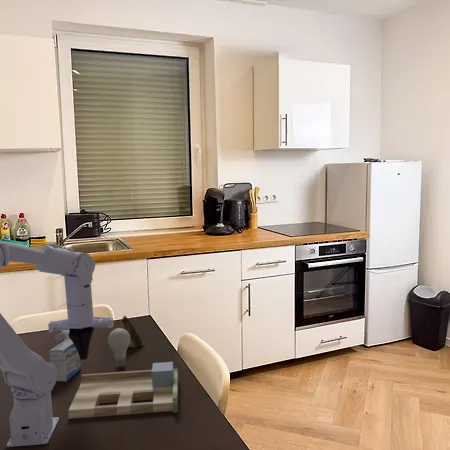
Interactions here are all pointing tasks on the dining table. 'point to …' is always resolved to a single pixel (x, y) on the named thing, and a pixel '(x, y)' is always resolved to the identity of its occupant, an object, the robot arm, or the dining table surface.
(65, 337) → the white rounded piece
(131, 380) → the tray
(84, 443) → the dining table surface
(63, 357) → the medicine box
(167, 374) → the slate block
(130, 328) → the rock
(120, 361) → the lightbulb
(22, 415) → the robot arm
